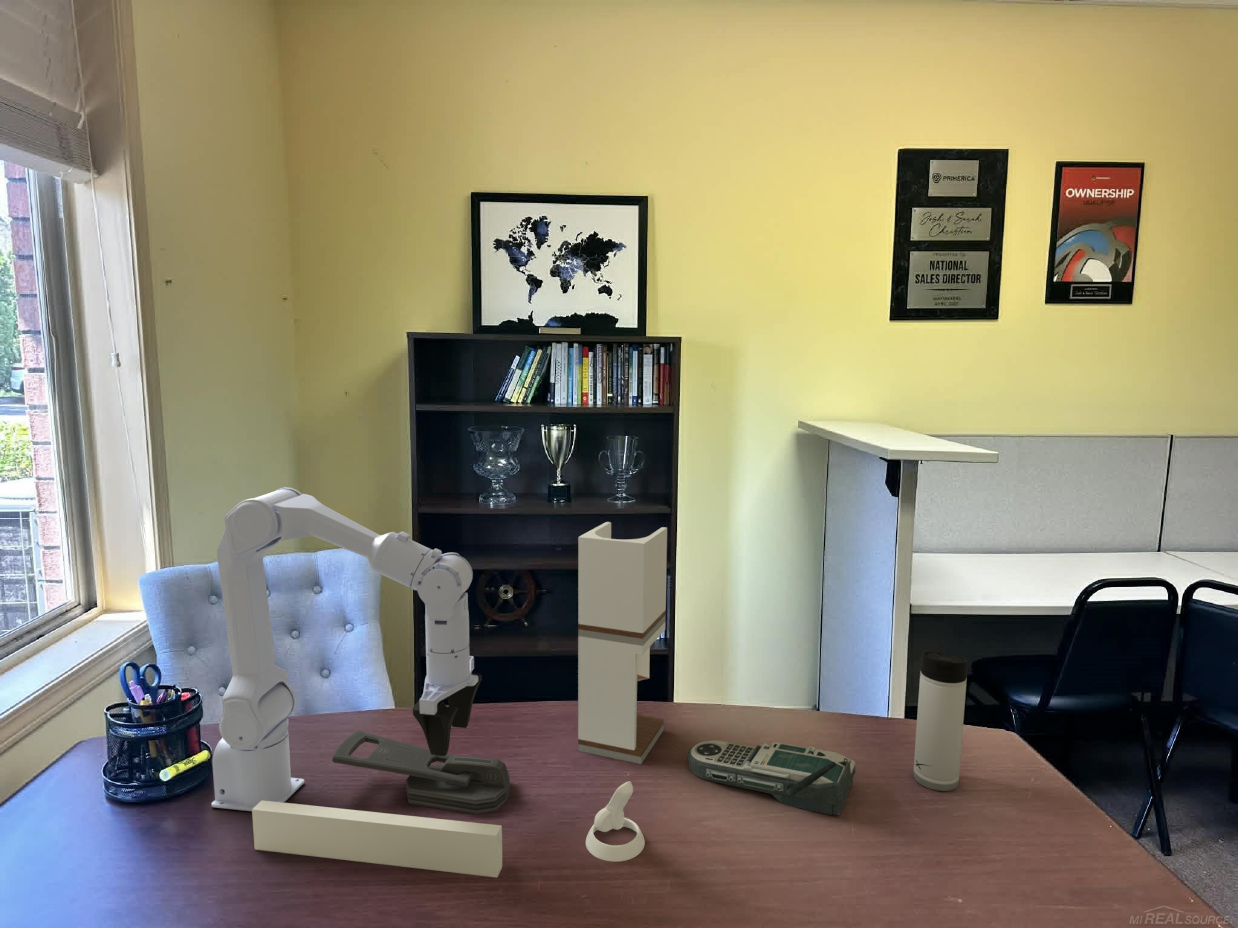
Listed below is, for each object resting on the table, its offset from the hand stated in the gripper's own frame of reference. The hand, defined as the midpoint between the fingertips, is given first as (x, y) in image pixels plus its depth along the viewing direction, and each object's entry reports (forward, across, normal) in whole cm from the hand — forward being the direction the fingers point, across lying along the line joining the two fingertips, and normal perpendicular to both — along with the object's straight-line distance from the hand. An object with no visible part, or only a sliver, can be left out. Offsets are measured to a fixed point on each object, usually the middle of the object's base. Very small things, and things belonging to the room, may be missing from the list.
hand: (449, 739), depth 104 cm
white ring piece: (+10, -4, -24) cm, 26 cm away
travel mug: (+10, +19, -69) cm, 72 cm away
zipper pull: (+10, +3, +5) cm, 12 cm away
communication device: (+10, +14, -44) cm, 47 cm away
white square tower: (+10, +22, -21) cm, 32 cm away
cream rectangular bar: (+10, -11, +5) cm, 16 cm away
